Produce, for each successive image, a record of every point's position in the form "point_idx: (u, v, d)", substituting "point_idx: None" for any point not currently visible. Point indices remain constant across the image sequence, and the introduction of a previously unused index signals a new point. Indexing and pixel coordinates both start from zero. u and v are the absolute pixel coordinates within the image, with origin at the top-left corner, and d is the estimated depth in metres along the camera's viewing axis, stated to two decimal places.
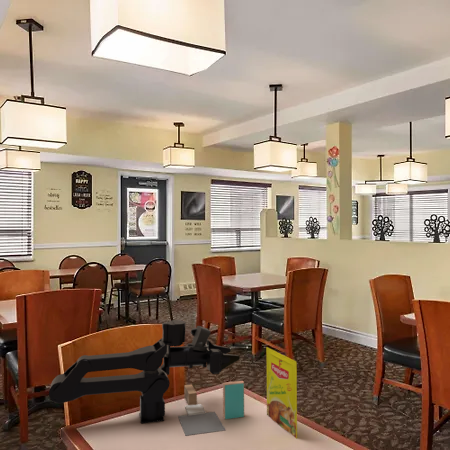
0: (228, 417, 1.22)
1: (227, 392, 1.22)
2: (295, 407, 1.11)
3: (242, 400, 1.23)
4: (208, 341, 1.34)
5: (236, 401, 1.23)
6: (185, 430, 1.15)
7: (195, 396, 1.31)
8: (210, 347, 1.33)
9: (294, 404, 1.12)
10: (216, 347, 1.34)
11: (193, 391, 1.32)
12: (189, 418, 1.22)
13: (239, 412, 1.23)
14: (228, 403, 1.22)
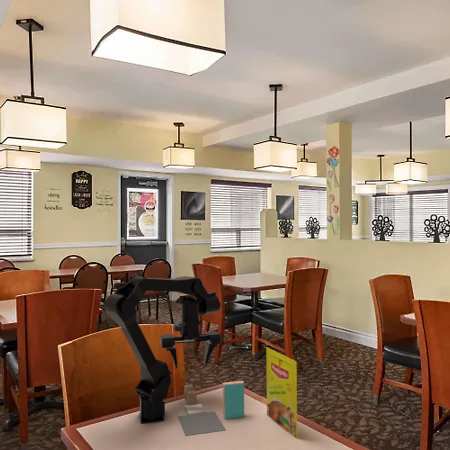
0: (228, 417, 1.22)
1: (227, 392, 1.22)
2: (295, 407, 1.11)
3: (242, 400, 1.23)
4: None
5: (236, 401, 1.23)
6: (185, 430, 1.15)
7: (195, 396, 1.31)
8: None
9: (294, 404, 1.12)
10: None
11: (193, 391, 1.32)
12: (189, 418, 1.22)
13: (239, 412, 1.23)
14: (228, 403, 1.22)
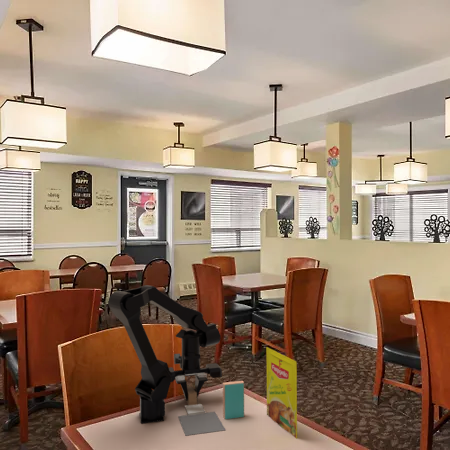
0: (228, 417, 1.22)
1: (227, 392, 1.22)
2: (295, 407, 1.11)
3: (242, 400, 1.23)
4: None
5: (236, 401, 1.23)
6: (185, 430, 1.15)
7: (195, 396, 1.31)
8: None
9: (294, 404, 1.12)
10: None
11: (193, 391, 1.32)
12: (189, 418, 1.22)
13: (239, 412, 1.23)
14: (228, 403, 1.22)
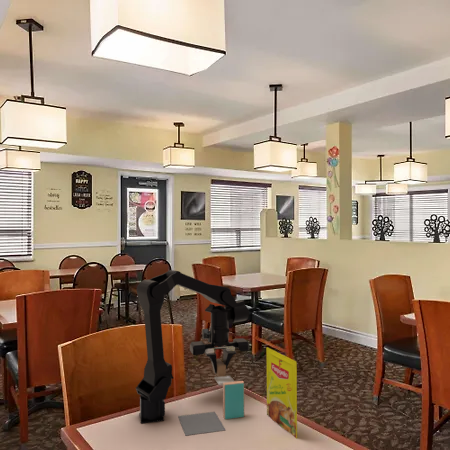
0: (228, 417, 1.22)
1: (227, 392, 1.22)
2: (295, 407, 1.11)
3: (242, 400, 1.23)
4: None
5: (236, 401, 1.23)
6: (185, 430, 1.15)
7: (224, 368, 1.36)
8: None
9: (294, 404, 1.12)
10: None
11: (222, 364, 1.37)
12: (189, 418, 1.22)
13: (239, 412, 1.23)
14: (228, 403, 1.22)
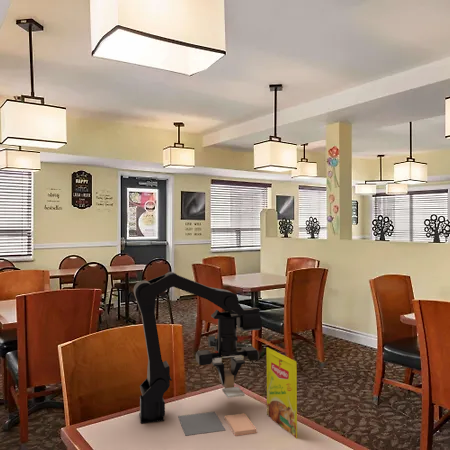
0: None
1: None
2: (295, 407, 1.11)
3: None
4: None
5: None
6: (185, 430, 1.15)
7: (232, 379, 1.27)
8: None
9: (294, 404, 1.12)
10: None
11: (230, 374, 1.29)
12: (189, 418, 1.22)
13: None
14: None
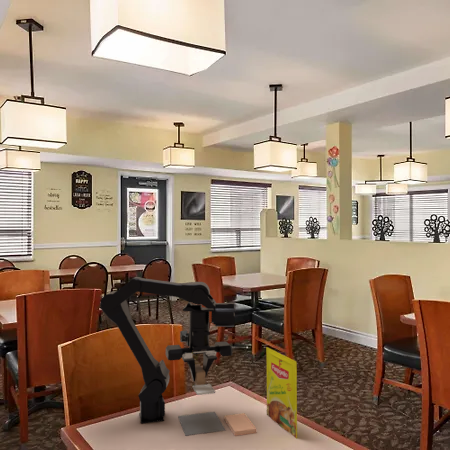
0: None
1: None
2: (295, 407, 1.11)
3: None
4: None
5: None
6: (185, 430, 1.15)
7: (204, 375, 1.20)
8: None
9: (294, 404, 1.12)
10: None
11: (201, 370, 1.22)
12: (189, 418, 1.22)
13: None
14: None
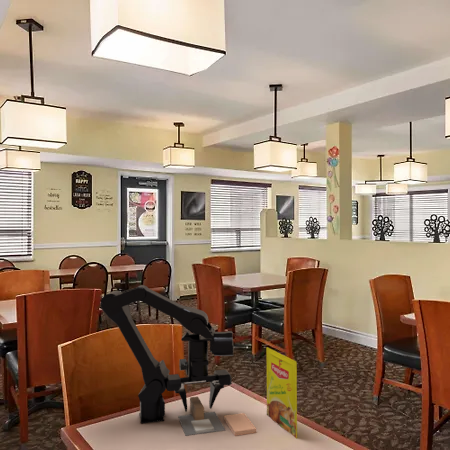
0: None
1: None
2: (295, 407, 1.11)
3: None
4: None
5: None
6: (185, 430, 1.15)
7: (202, 410, 1.20)
8: None
9: (294, 404, 1.12)
10: None
11: (200, 405, 1.21)
12: (189, 418, 1.22)
13: None
14: None
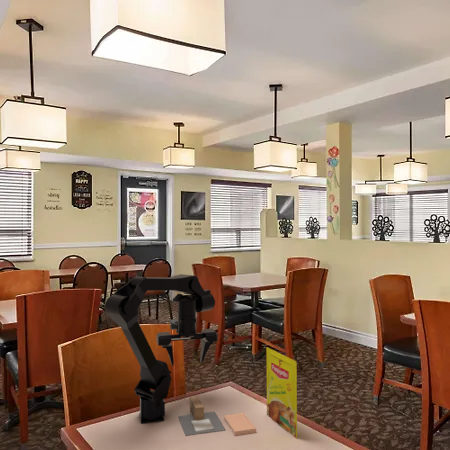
0: None
1: None
2: (295, 407, 1.11)
3: None
4: None
5: None
6: (185, 430, 1.15)
7: (202, 410, 1.20)
8: None
9: (294, 404, 1.12)
10: None
11: (200, 405, 1.21)
12: (189, 418, 1.22)
13: None
14: None
